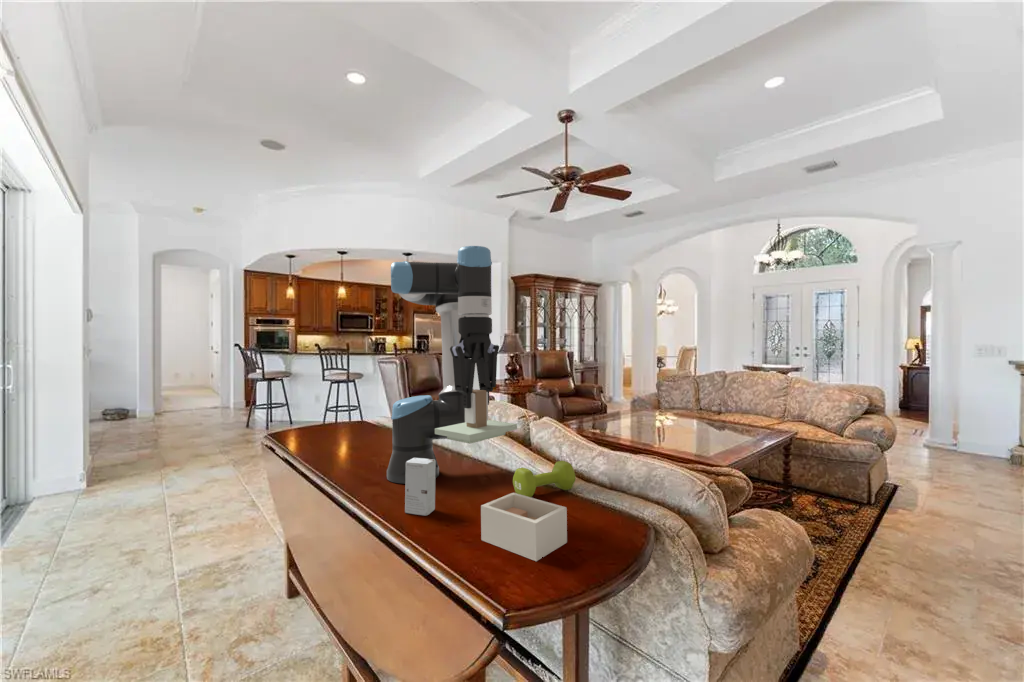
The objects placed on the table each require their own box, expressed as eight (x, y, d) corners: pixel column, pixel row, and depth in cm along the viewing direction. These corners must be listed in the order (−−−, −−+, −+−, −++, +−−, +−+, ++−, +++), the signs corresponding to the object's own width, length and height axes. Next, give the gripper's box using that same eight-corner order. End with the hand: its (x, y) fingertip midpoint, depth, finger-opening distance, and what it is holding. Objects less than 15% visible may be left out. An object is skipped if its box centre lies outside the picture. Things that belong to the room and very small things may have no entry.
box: (481, 540, 94) (480, 505, 94) (513, 524, 101) (513, 492, 101) (536, 561, 85) (535, 523, 85) (567, 542, 92) (566, 507, 92)
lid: (469, 446, 95) (469, 395, 95) (434, 439, 102) (434, 392, 102) (517, 434, 106) (516, 388, 106) (482, 428, 113) (482, 386, 113)
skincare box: (404, 513, 109) (403, 461, 108) (413, 506, 113) (413, 457, 113) (427, 516, 107) (427, 463, 107) (436, 509, 111) (436, 458, 111)
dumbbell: (561, 483, 130) (560, 457, 130) (578, 491, 123) (578, 464, 123) (509, 493, 122) (509, 466, 122) (525, 503, 115) (525, 474, 115)
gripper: (459, 315, 95) (461, 429, 95) (511, 316, 108) (512, 418, 108) (435, 316, 100) (437, 425, 100) (488, 318, 112) (489, 414, 113)
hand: (476, 421), depth 104 cm, fingers closed on lid, 3 cm apart
